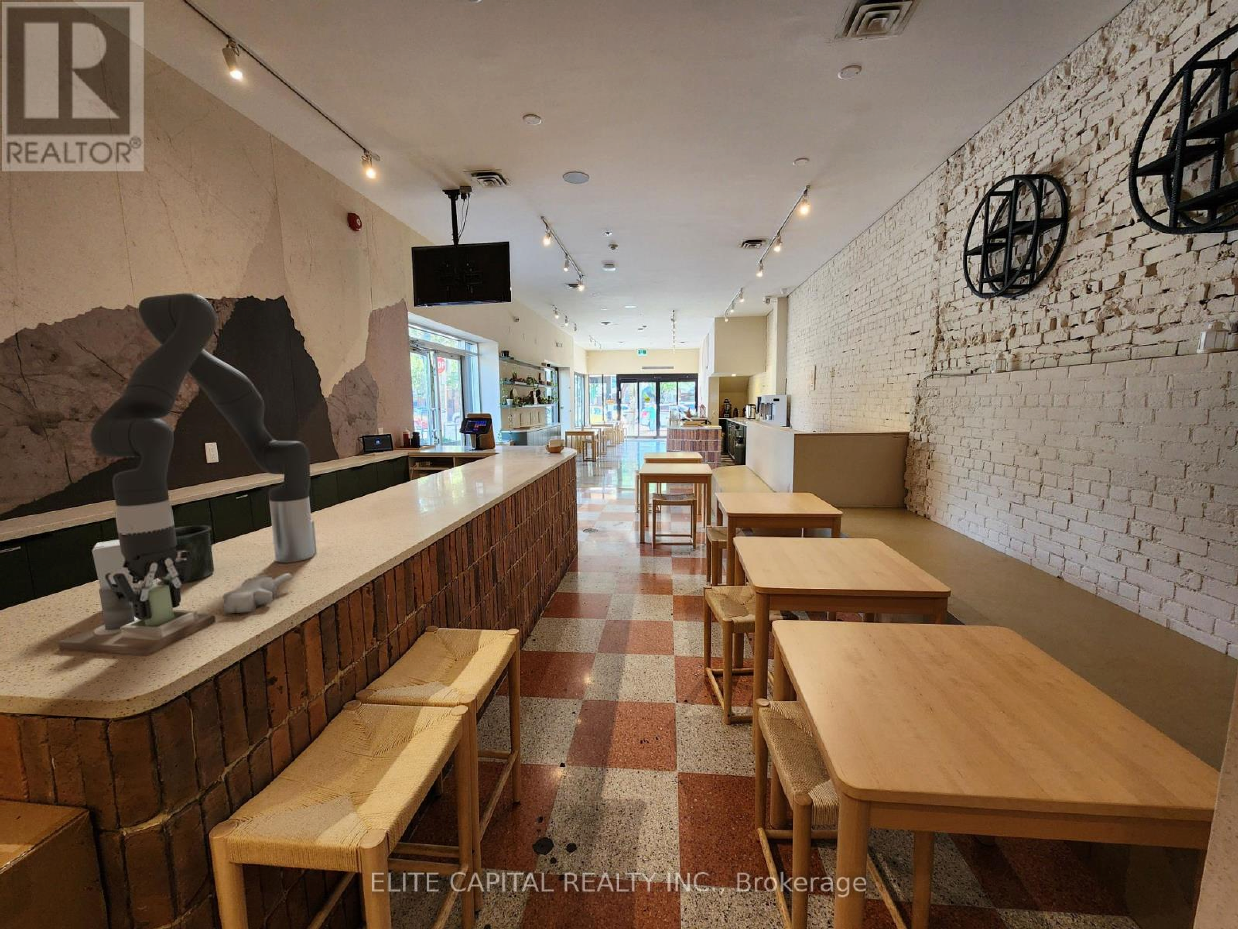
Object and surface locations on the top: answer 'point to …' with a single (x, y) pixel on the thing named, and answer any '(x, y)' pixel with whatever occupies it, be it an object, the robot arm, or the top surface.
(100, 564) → the skincare box
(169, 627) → the board
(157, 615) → the green pin
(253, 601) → the bunny figurine
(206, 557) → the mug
